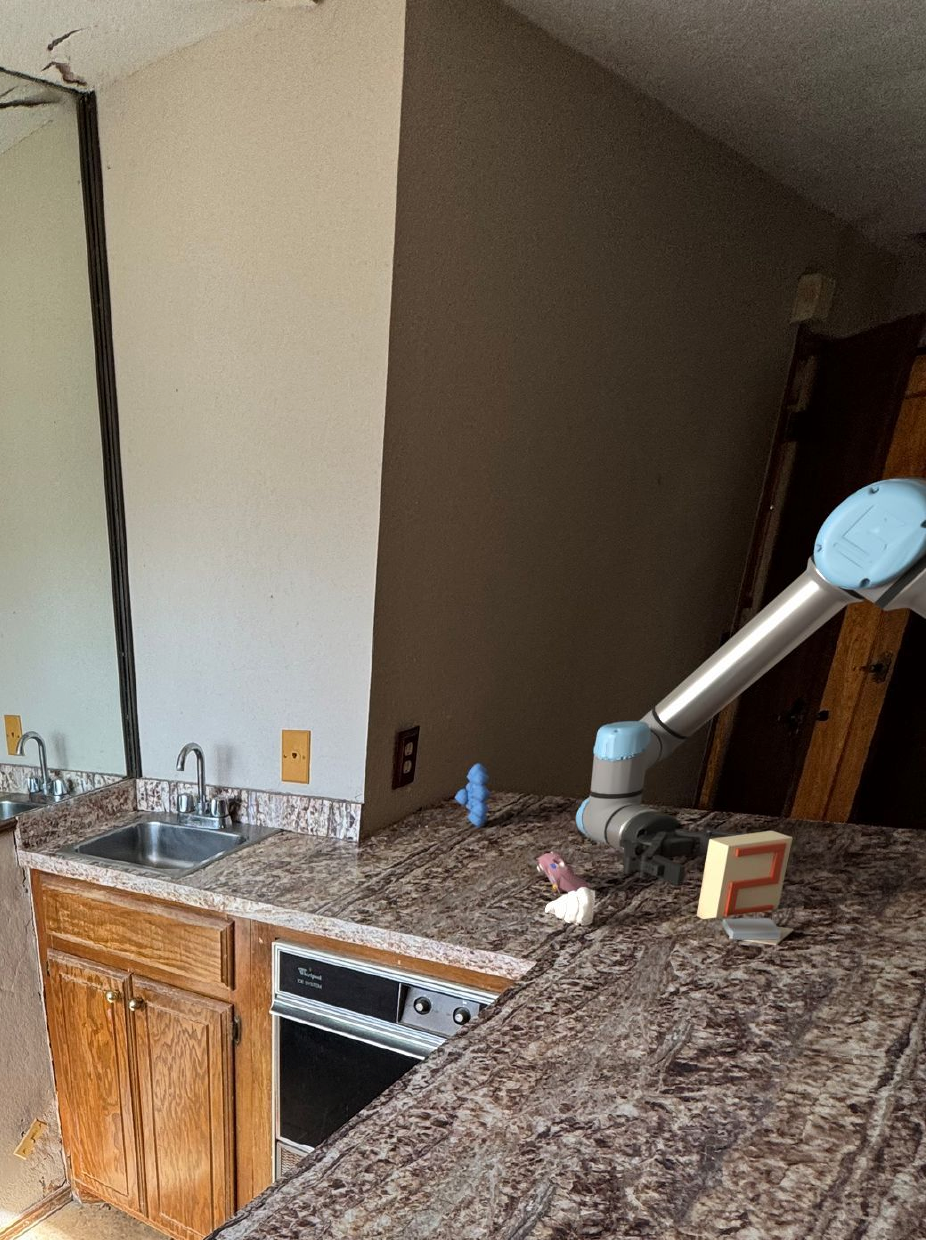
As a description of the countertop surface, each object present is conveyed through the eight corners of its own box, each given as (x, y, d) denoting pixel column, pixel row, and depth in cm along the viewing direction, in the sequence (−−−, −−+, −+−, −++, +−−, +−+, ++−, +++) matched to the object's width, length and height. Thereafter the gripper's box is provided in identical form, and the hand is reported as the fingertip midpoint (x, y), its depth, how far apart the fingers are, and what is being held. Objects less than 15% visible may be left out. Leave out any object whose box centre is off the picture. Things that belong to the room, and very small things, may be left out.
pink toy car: (546, 889, 146) (528, 854, 144) (574, 875, 144) (557, 839, 142) (563, 908, 137) (544, 871, 135) (593, 893, 135) (575, 856, 133)
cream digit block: (756, 908, 123) (771, 830, 118) (778, 918, 119) (795, 838, 114) (696, 916, 123) (709, 838, 119) (716, 926, 119) (731, 847, 115)
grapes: (449, 819, 187) (451, 761, 182) (484, 816, 185) (487, 758, 180) (457, 833, 177) (459, 772, 172) (493, 830, 175) (497, 768, 170)
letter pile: (784, 930, 115) (788, 908, 114) (840, 956, 107) (846, 932, 105) (689, 942, 116) (693, 920, 115) (737, 968, 108) (742, 945, 106)
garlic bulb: (544, 917, 131) (547, 882, 129) (590, 918, 128) (594, 882, 126) (543, 930, 127) (546, 894, 125) (591, 931, 124) (595, 894, 122)
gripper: (723, 846, 140) (823, 883, 121) (562, 868, 142) (635, 908, 123) (731, 798, 137) (835, 829, 118) (566, 822, 139) (642, 855, 120)
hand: (733, 869), depth 121 cm, fingers open, 13 cm apart
